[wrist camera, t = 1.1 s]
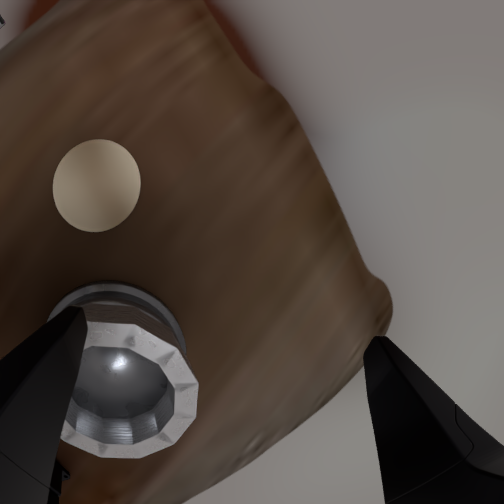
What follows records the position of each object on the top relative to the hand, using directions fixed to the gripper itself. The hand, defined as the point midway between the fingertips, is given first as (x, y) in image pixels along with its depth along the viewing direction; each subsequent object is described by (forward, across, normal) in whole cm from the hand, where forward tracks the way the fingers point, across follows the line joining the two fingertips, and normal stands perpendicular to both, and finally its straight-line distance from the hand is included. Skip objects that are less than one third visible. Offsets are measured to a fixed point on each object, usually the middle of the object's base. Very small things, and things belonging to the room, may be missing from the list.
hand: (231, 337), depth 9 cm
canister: (+9, +8, +14) cm, 19 cm away
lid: (+14, +10, +2) cm, 17 cm away
